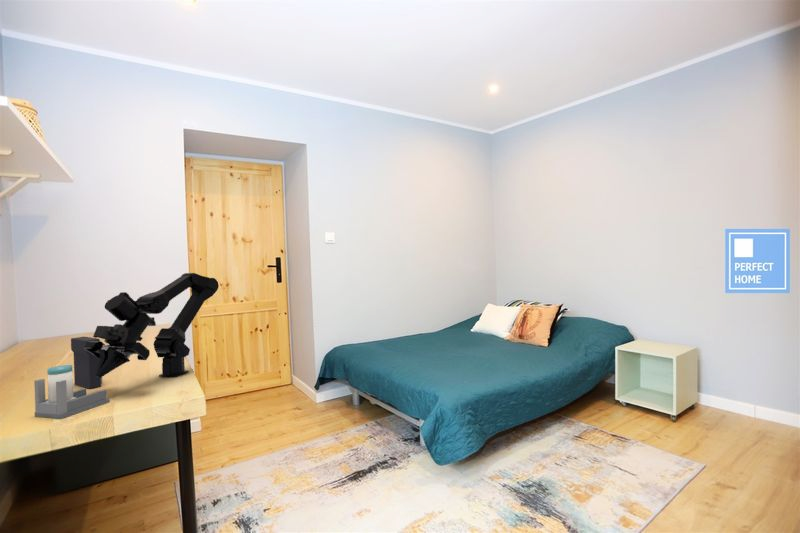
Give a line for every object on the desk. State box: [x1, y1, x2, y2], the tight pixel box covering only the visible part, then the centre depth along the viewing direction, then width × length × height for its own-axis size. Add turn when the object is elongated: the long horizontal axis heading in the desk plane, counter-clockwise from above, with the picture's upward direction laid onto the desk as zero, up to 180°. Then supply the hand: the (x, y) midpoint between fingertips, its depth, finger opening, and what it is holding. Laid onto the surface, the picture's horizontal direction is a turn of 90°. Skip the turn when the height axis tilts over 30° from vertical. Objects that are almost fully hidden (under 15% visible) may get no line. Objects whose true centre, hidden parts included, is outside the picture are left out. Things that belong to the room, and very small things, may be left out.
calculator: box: [70, 336, 103, 390], centre depth 124 cm, size 11×4×15 cm, turn 59°
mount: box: [33, 378, 110, 420], centre depth 103 cm, size 12×9×9 cm
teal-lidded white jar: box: [46, 364, 76, 403], centre depth 100 cm, size 5×5×10 cm
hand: (97, 377), depth 109 cm, fingers closed
